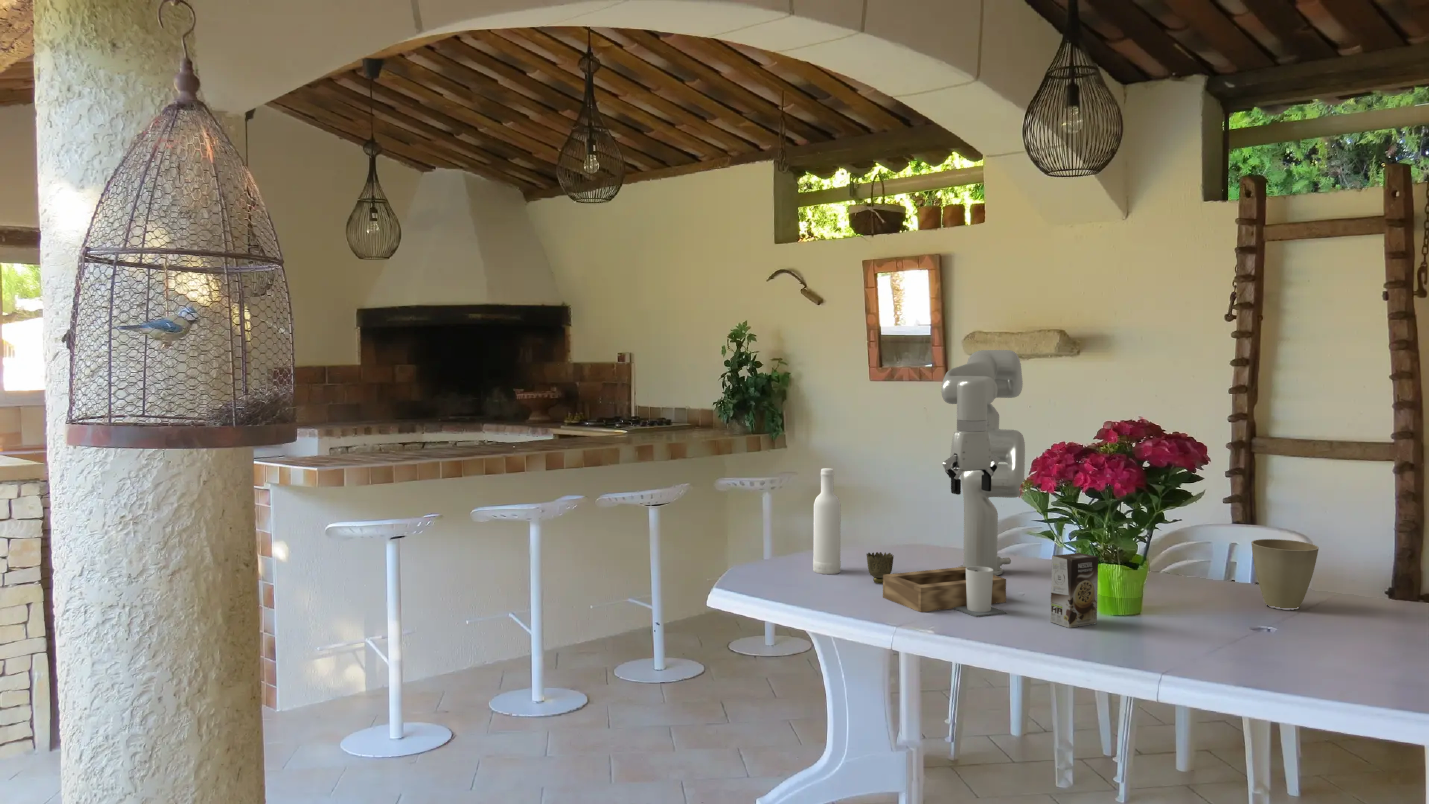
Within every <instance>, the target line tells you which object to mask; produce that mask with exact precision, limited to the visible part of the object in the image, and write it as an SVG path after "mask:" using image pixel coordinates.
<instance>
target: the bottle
mask: <svg viewBox="0 0 1429 804" xmlns="http://www.w3.org/2000/svg"><path fill="white" fill-rule="evenodd" d="M834 475H835V471H834V468H830V467H827V468H825V467H823V468H821V469H820V493H819V494H818V495H817V496H816V497H815V500H814V502H813V538H812V539H813V549H812V550H813V553H812V555H813V559H812V569H813V572H814V573H816V574H819V575H820V574H821V575H834V574H835V575H837V574H839V573H840V572H841V566H842V565H841V562H842V561H841V530H842V529H841V521H842V519H841V516H842V515H841V511H842V509H841V502H840V498H839V497H838V496H837V495H836V494H835V493H834V490H835V489H834V483H835V482H834V477H835V476H834Z"/></svg>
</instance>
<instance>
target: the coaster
mask: <svg viewBox="0 0 1429 804" xmlns="http://www.w3.org/2000/svg"><path fill="white" fill-rule="evenodd" d="M953 610H956V611H959V612H961V613H963V614H967V615H970V616H972V617H974V618H978V617H979V618H981V617H988V616H994V615H995V616H996V615H1002V614H1003V615H1004V614H1007V611H1005V610H1003V609H1000V608H997V607H995V606H994V607H993V606H991V611H988V612H975V611H970V610H968V609H967V606H960V607H954V608H953Z"/></svg>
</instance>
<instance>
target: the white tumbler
mask: <svg viewBox="0 0 1429 804" xmlns="http://www.w3.org/2000/svg"><path fill="white" fill-rule="evenodd" d="M992 583H993V569H992V568H988V567H979V566H973V567H967V568H966V595H967V609H968V610H970V611H975V612H988V611H991V607H992V604H991V600H992Z"/></svg>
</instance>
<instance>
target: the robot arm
mask: <svg viewBox="0 0 1429 804" xmlns="http://www.w3.org/2000/svg"><path fill="white" fill-rule="evenodd" d="M1023 385H1024V383H1023V374H1022V364H1021V361H1020V357H1019V356H1018V354H1017V352H1015V351H1013V350H1010V349H1009V350H1008V349H1003V350H1002V349H998V350H997V349H985V350H984V349H983V350H982V349H981V350H978V351H975V352H973V353H972V354H970V356H969V358H968V360H967V362H966V363H965V364H962V365H959V366H956V367H953V368H951V369H949V370H948V371H947V372H946V373H945V375H944V376H943V380H942V382H941V391H940V392H941V397H942V399H943V401H944V402H945V403H946V404H950V405H956V431H954V432H953V436H952V440H951V446H950V447H951V448H950V457H949V458H947V459H946V460H944V461H942V466H943V469H944V471H945V473H946V475H947V476H948V478H949V479H950V493H951V494H954V495H957V496H958V495H961V493H962V494H963V495H962V496H963V557H962V559H963V564H962V565H959V566H958V567H973V566H979V567H988V568H992V569H993V575H995V576H1001V575H1002V574H1003V572H1004V570H1003V569H1002V567H1001V566H1003V565H1010V564H1011V563H1012V560H1011V558H1010V557H1003V558H1001V556H999V555H998V543H999V541H998V539H999V538H998V535H999V533H998V531H999V530H998V529H999V525H998V523H999V522H998V521H999V516H998V515H999V514H998V510H997V507H996V506H995V505H994V504H993V502H992V501H991V499H989V498H1006V499H1007V498H1009V499H1010V498H1013V499H1014V498H1015V499H1016V498H1019V497H1021V495H1020V491H1019V487H1020V485H1021V484H1022V482H1023V481H1024V482H1025V469H1026V464H1025V462H1026V442H1025V438H1024V435H1023V433H1021V431H1019V430H1016V429H1003V428H1002V429H1001V428H1000V414H999V412H998V411H997V408H995V406H994V405H993V404H992V403H993V402H994V401H995V399H997V398H998V399H999V398H1000V399H1006V398H1007V399H1012V398H1017V397H1019V396H1020V395H1021V393H1022V391H1023ZM960 477H961V479H960ZM961 488H962V490H961Z"/></svg>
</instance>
